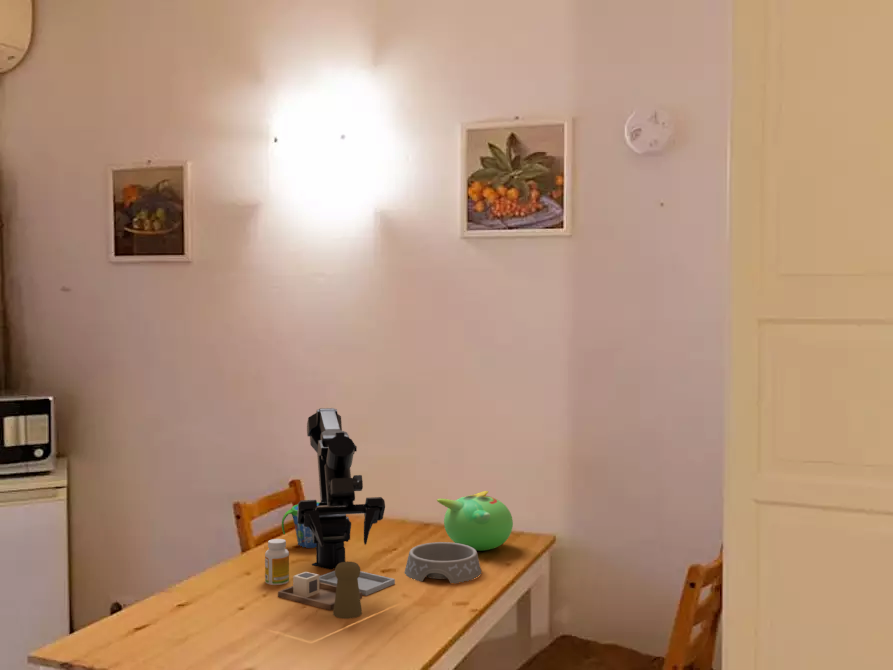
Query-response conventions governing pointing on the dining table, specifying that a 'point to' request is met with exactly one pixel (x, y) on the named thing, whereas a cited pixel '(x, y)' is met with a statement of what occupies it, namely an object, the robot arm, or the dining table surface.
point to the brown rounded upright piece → (347, 591)
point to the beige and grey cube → (306, 584)
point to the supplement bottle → (277, 562)
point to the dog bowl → (443, 562)
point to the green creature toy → (477, 521)
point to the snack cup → (300, 529)
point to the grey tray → (362, 582)
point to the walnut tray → (314, 596)
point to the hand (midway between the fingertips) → (344, 544)
